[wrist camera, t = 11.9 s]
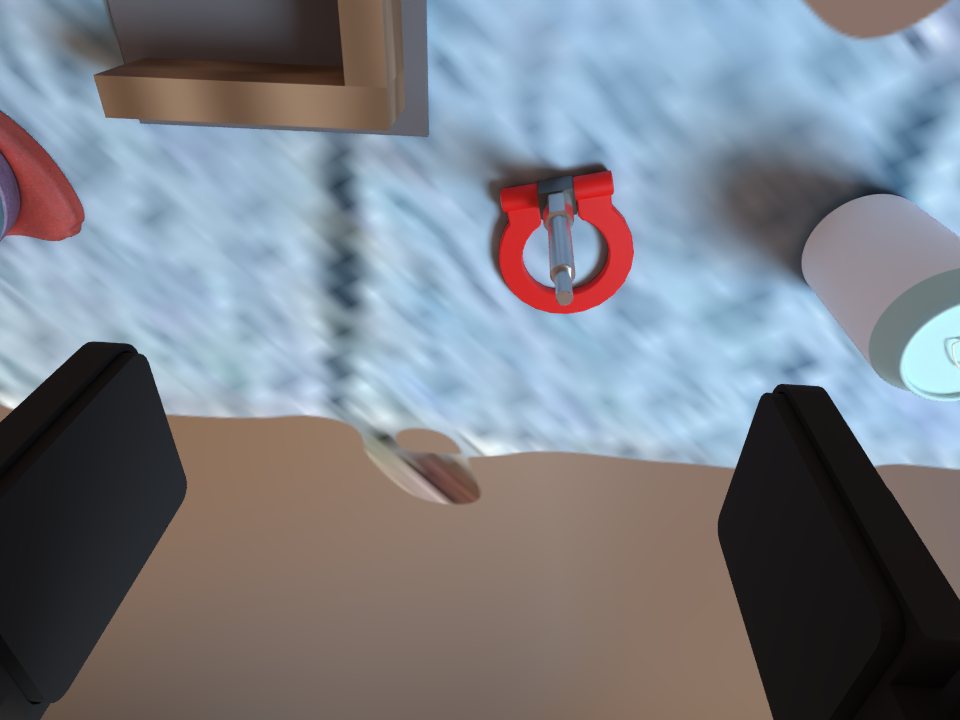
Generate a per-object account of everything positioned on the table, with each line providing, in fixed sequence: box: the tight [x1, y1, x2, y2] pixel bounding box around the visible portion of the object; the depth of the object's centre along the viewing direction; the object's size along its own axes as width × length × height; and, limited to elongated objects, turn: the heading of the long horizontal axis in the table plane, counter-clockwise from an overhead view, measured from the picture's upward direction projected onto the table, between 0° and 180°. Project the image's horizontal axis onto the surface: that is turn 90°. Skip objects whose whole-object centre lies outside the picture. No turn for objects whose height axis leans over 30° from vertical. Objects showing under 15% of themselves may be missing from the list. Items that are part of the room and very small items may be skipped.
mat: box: [108, 0, 429, 137], centre depth 34 cm, size 17×12×1 cm
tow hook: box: [499, 170, 634, 314], centre depth 36 cm, size 8×13×9 cm
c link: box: [93, 0, 405, 131], centre depth 32 cm, size 14×9×5 cm, turn 88°
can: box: [802, 194, 960, 401], centre depth 34 cm, size 7×7×12 cm
